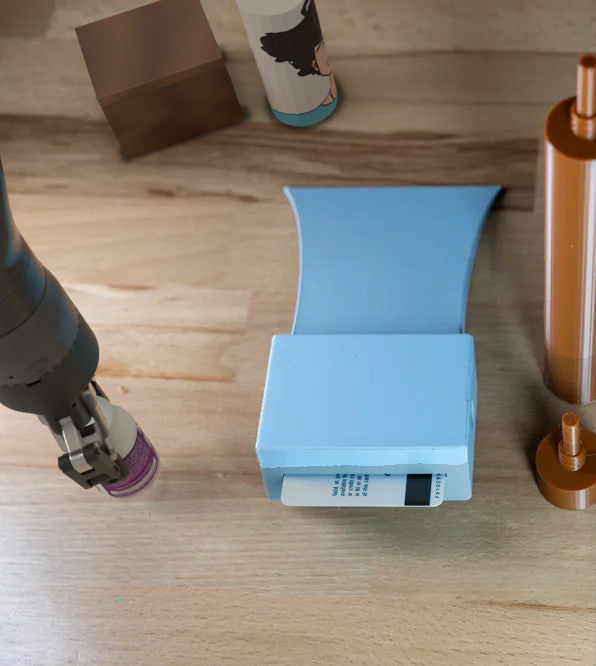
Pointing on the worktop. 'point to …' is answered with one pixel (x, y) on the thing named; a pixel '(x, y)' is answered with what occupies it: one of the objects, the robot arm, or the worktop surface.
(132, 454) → the pill bottle
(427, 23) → the worktop surface
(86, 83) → the worktop surface
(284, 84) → the cup
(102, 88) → the wooden lidded box
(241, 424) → the worktop surface
